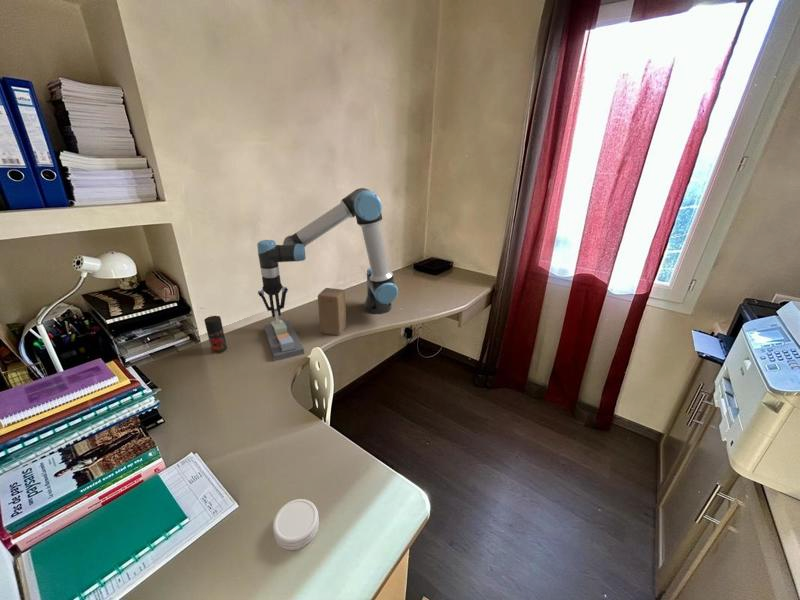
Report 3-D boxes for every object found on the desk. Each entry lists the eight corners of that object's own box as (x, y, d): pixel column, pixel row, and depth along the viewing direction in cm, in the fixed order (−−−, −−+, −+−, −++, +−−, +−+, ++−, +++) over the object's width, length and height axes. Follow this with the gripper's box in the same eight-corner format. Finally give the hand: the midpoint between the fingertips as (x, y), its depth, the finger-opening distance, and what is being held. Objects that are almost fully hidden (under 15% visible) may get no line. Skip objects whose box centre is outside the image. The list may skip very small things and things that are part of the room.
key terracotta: (288, 339, 153) (288, 332, 151) (291, 344, 149) (290, 337, 147) (277, 341, 150) (276, 335, 149) (279, 347, 146) (278, 340, 145)
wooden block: (339, 336, 157) (337, 297, 149) (319, 333, 159) (316, 295, 151) (347, 326, 166) (345, 288, 158) (328, 323, 168) (325, 286, 160)
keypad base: (289, 324, 167) (289, 320, 166) (304, 353, 144) (303, 348, 143) (264, 329, 161) (263, 325, 160) (274, 360, 138) (274, 355, 137)
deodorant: (208, 352, 143) (200, 320, 137) (219, 345, 148) (212, 314, 142) (219, 355, 141) (212, 323, 135) (230, 347, 146) (223, 317, 140)
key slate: (291, 343, 146) (291, 336, 145) (294, 348, 142) (293, 341, 141) (280, 346, 144) (279, 338, 143) (282, 351, 140) (281, 344, 139)
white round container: (264, 541, 76) (262, 531, 74) (292, 501, 84) (291, 492, 83) (302, 559, 73) (301, 549, 71) (327, 516, 81) (326, 506, 80)
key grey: (282, 325, 164) (282, 319, 162) (284, 330, 160) (284, 323, 158) (272, 328, 161) (271, 321, 160) (273, 332, 157) (272, 326, 156)
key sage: (285, 329, 157) (284, 322, 156) (287, 333, 153) (286, 327, 152) (274, 331, 155) (273, 324, 154) (276, 336, 151) (275, 329, 150)
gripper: (284, 270, 155) (289, 316, 165) (254, 274, 149) (261, 321, 159) (287, 275, 149) (293, 322, 159) (256, 280, 143) (264, 328, 153)
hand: (277, 322), depth 159 cm, fingers closed
